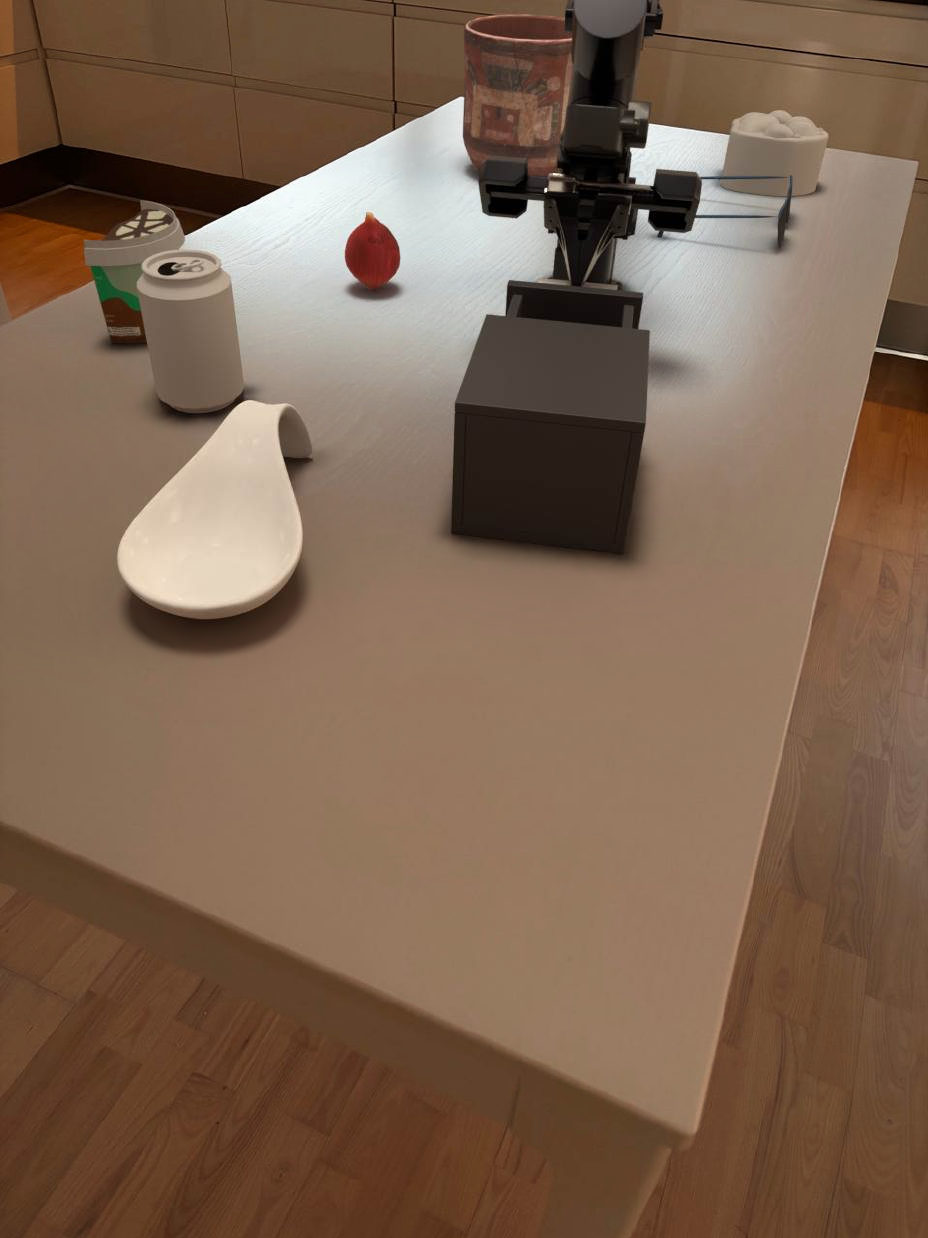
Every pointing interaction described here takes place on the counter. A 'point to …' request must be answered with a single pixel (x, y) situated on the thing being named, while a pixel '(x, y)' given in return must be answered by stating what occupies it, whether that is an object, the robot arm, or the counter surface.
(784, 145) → the lumpy-topped squat cylinder
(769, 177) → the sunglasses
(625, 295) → the drawer
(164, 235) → the food container
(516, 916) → the counter surface
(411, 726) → the counter surface
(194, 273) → the can
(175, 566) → the spoon rest
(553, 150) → the pottery
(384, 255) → the onion
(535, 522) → the dark grey storage box
